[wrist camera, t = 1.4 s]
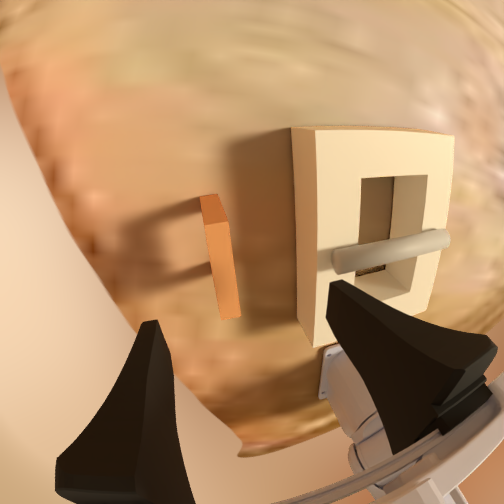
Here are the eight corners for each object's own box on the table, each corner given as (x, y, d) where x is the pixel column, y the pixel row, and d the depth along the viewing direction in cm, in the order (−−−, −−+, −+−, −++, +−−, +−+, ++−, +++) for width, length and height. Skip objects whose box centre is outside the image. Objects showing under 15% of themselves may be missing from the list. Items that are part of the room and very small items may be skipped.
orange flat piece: (228, 271, 22) (241, 316, 17) (212, 274, 22) (221, 320, 17) (217, 193, 19) (228, 221, 14) (199, 196, 19) (204, 225, 14)
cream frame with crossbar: (403, 288, 27) (435, 319, 22) (296, 317, 25) (320, 361, 21) (420, 129, 20) (469, 139, 15) (290, 127, 18) (327, 132, 13)
